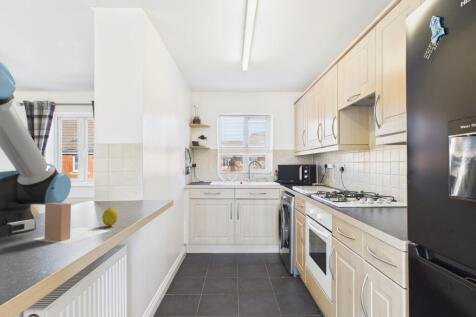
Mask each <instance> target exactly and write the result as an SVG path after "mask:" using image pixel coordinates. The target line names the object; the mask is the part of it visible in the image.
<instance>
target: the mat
mask: <svg viewBox="0 0 476 317" xmlns="http://www.w3.org/2000/svg"><path fill="white" fill-rule="evenodd" d="M107 232H112V230H110V229H109V230H108V229H100V228H91V227H86V226H85V227H83V226H81V227H79V226H78V227H76V228H70V239H68V240H65V241H54V240H48V239H45V235H42V236H39V237H35V238H33V240H34V241H35V240H36V241H41V242H47V243H55V244H62V245H68V244H70V243H75V242H77V241H81V240H85V239H88V238H91V237H95V236H98V235H102V234H104V233H107Z"/></svg>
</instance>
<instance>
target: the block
mask: <svg viewBox="0 0 476 317" xmlns="http://www.w3.org/2000/svg"><path fill="white" fill-rule="evenodd" d="M44 208H45V209H44V212H45V213H44V236H45V239H48V240H54V241H65V240H68V239H70V230H71V220H72V219H71V218H72V215H71V214H72V213H71V210H72V209H71V208H72V204H71V203H69V202H68V203H67V202H62V203H56V202H53V203H46V204H45V207H44Z"/></svg>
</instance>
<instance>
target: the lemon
mask: <svg viewBox="0 0 476 317" xmlns="http://www.w3.org/2000/svg"><path fill="white" fill-rule="evenodd" d="M117 221H118V212H117V210H116V209H114V208H112V207H108V208H107V209H106V210H104V211H103V214H102V223H103V224H104V225H105V226H107V227H108V228H111V227H112V226H113V225H115V224H116V223H117Z"/></svg>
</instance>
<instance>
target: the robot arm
mask: <svg viewBox="0 0 476 317" xmlns="http://www.w3.org/2000/svg"><path fill="white" fill-rule="evenodd" d="M16 84H17V83H16V79H15V77H14V75H13V73H12V71H11V70H10V69H9V68H8V66H6V64H4V63H3V62H1V61H0V149H1V150H2V153H3V154H4V155H5V156H6V158H7V160H9V161H10V163H11V165H12V166H13V167H14V169H15V170H5V171H4V170H3V171H0V238H4V237H11V236H15V235H21V234H25V233H30V232H33V231H36V229H37V223H36V222H37V221H36V219H35V217H34V214H33V211H32V205H40V206H41V205H45V204H46V203H53V202H56V203H64V202H65V200H66V199H67V198H68V196H69V195H70V192H71V189H72V181H71V178H70V176H69V175H68V174H66V173H63V172H62V173H59V172H58V170H57V168H56V166H55V165H54V164H52V163H48V162H47V161H46V159H45V157H44V155H43V154H42V153H41V151H40V149H39V147H38V146H37V144H36V142H35V140H34V139H33V138H32V135H31V134H30V132H29V131H28V129H27V127H26V126H25V124H24V123H23V120H22V118H21V117H20V116H19V114H18V112H17V110H16V109H15V107H14V106H13V102H14V101H15V99H16V98H15V95H14V94H15V91H16V86H15V85H16Z"/></svg>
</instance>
